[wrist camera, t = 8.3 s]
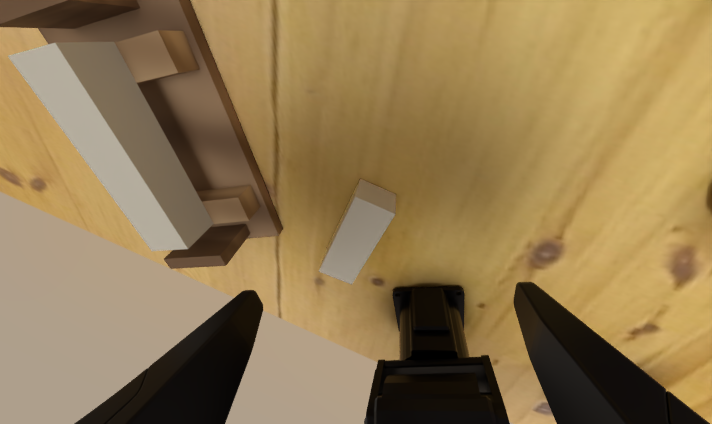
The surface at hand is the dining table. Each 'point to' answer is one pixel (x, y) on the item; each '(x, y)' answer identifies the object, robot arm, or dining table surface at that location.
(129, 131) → the grey rectangular bar
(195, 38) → the wooden slotted stand
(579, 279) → the dining table surface
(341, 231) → the clay offcut
